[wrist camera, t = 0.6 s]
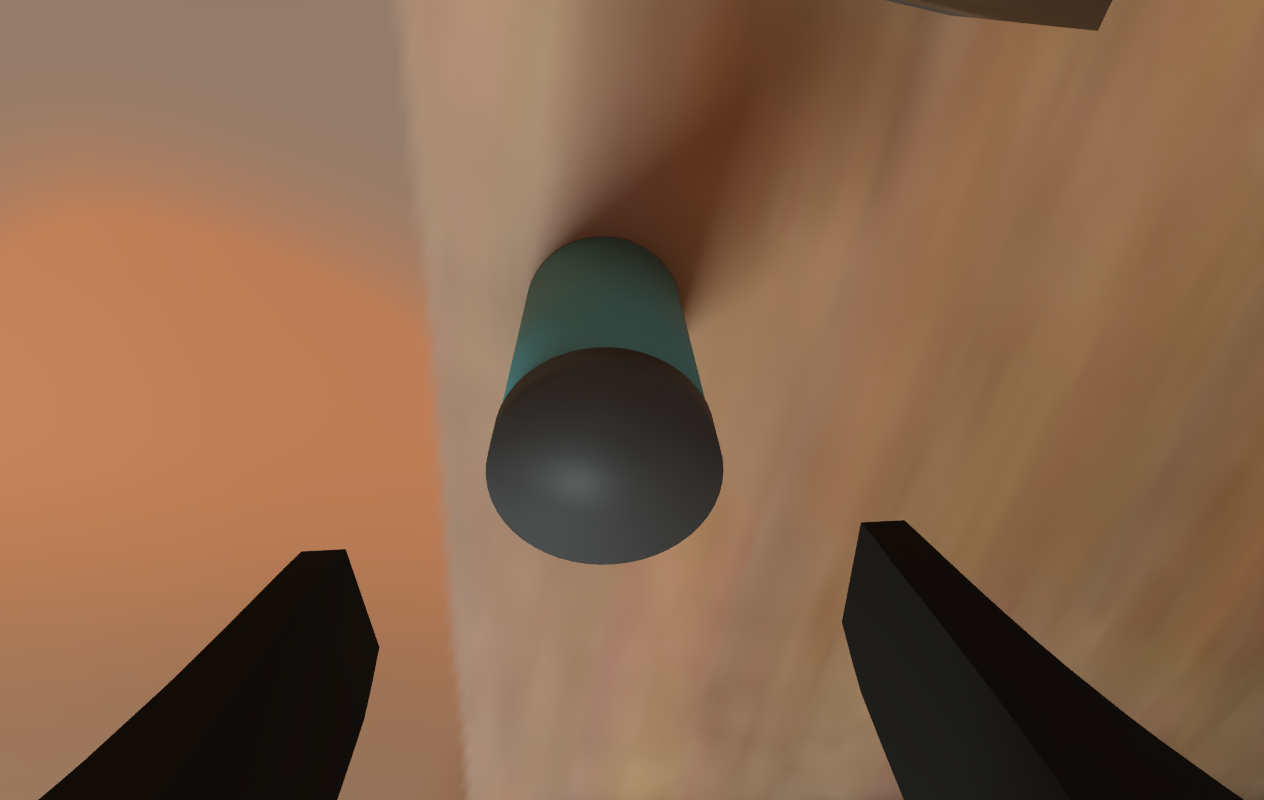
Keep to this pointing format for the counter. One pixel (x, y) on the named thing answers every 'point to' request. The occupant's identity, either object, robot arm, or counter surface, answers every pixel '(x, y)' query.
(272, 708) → the robot arm
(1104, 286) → the counter surface
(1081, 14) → the socket
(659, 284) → the peg
